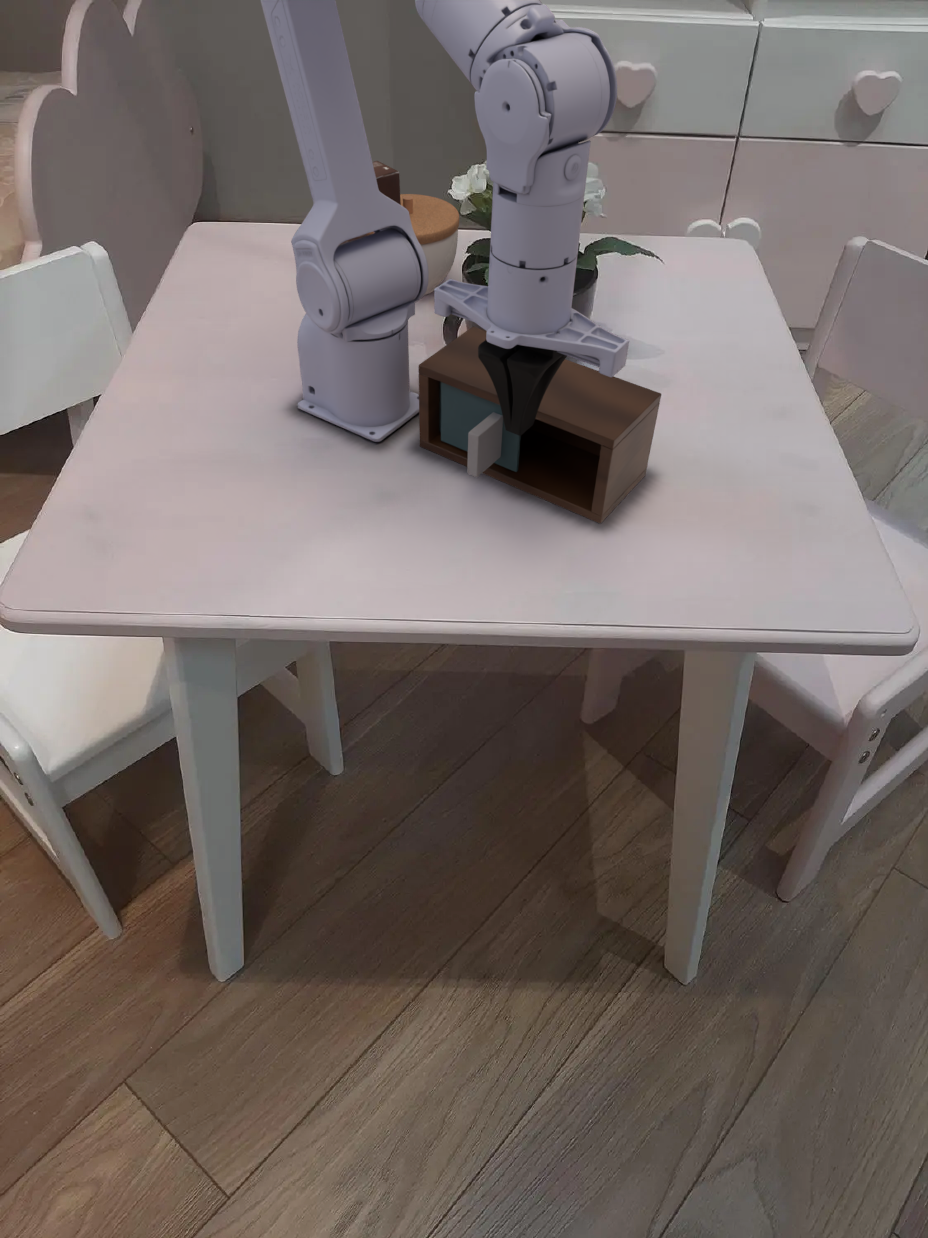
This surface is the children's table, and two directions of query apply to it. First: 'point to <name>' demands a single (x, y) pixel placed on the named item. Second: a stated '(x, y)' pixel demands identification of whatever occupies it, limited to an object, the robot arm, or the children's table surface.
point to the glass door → (477, 430)
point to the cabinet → (554, 429)
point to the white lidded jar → (433, 233)
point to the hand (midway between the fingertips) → (519, 426)
